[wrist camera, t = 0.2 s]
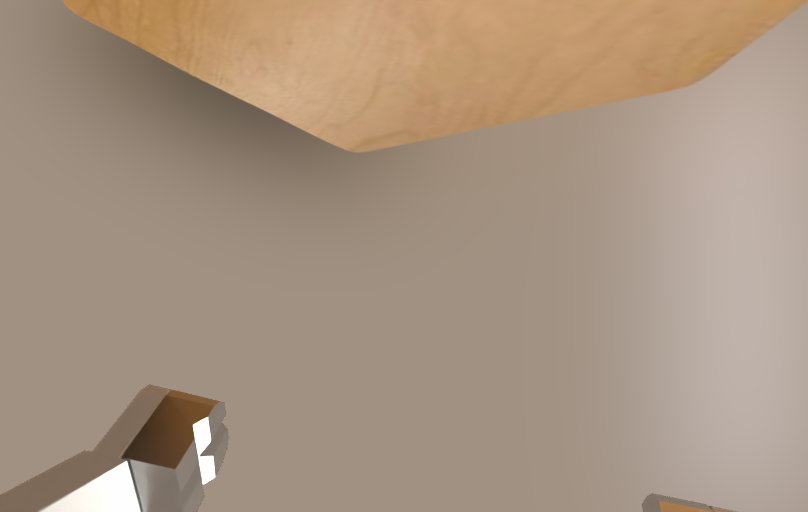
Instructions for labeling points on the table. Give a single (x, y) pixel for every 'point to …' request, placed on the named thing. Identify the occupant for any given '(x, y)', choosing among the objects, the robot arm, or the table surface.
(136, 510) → the robot arm
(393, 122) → the table surface
